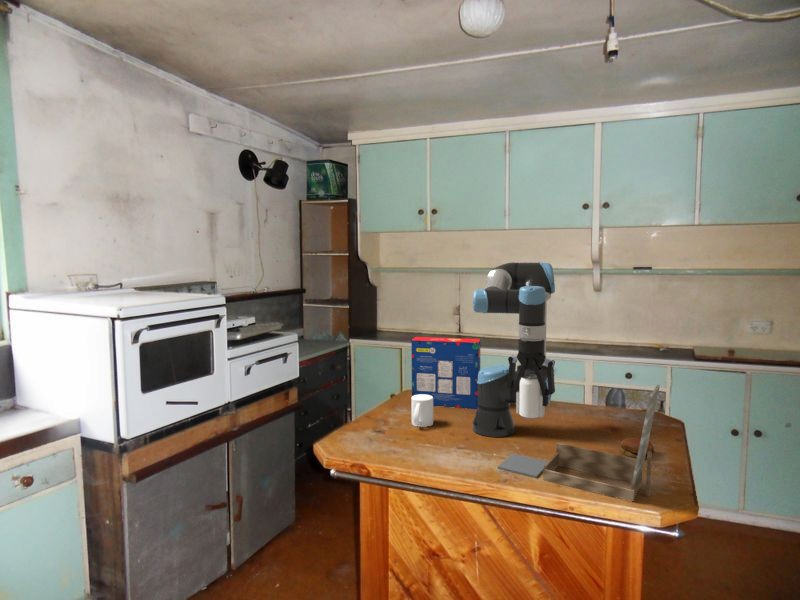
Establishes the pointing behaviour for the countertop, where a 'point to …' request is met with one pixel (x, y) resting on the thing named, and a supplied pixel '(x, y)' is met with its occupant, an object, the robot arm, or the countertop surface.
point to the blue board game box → (446, 370)
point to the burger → (633, 447)
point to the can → (529, 396)
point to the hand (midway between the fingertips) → (530, 413)
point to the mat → (523, 465)
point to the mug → (422, 410)
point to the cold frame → (605, 464)
